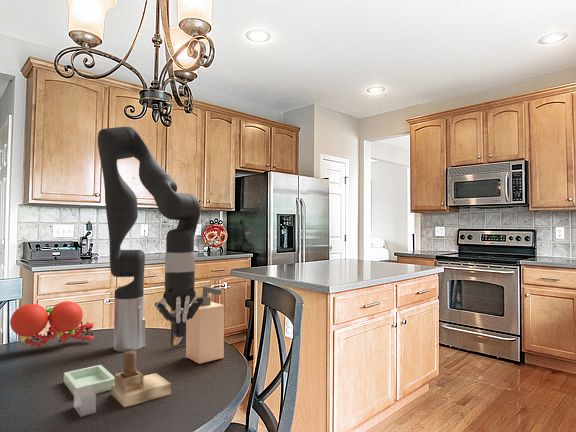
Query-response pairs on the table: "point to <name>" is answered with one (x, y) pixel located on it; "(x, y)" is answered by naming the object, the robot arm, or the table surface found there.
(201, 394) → the table surface
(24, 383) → the table surface
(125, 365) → the dowel
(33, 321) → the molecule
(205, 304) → the soap dispenser
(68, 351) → the table surface
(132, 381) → the wooden socket block
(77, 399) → the stop
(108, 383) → the tray
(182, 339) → the smartphone
